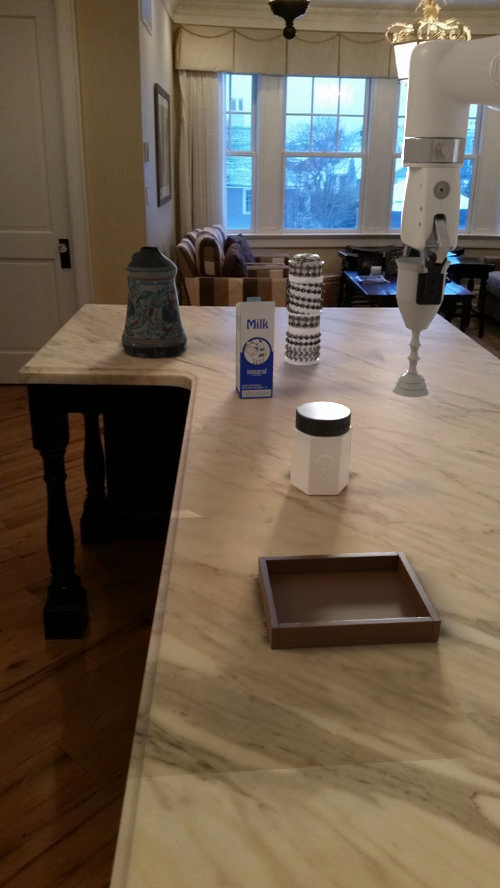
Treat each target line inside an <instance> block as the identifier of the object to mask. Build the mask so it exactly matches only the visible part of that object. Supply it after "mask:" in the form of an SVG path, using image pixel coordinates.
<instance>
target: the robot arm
mask: <svg viewBox="0 0 500 888" xmlns="http://www.w3.org/2000/svg"><path fill="white" fill-rule="evenodd" d="M408 67H409V69H408V79H407V80H408V81H407V92H406V93H407V94H406V104H405V106H406V107H405V117H404V118H405V119H404V130H403V142H402V154H401V166H400V167H401V168H407V172H406V177H405V184H404V192H403V200H402V208H401V218H400V240H401V242H402V243H403V244H402V249H403V252H402V256H401V258H405V257H421V272H422V273H418V282H417V292H416V303H417V304H418V305H439V304H440V303H441V299H442V290H443V281H444V273H445V269H446V267H445V263H446V261H447V260H448V254H449V252H453V251H454V250H455V249H456V248H457V247H458V238H459V226H460V211H461V192H462V191H461V189H462V187H461V184H462V183H461V169H462V168H464V162H465V154H466V144H467V136H468V127H469V117H470V110H471V105H477V106H479V105H480V106H487V107H488V108H489V109H491V110H494V111H497V112H500V34H496V35H493V36H488V37H482V38H475V39H469V40H463V39H455V38H454V39H453V38H452V39H450V38H448V39H447V38H442V39H431V40H426V41H425V40H424V41H423V42H420V43H417V44H416V45H415V47H414V48H413V49H412V51H411V54H410V59H409V66H408ZM428 258H429V261H428ZM441 304H442V303H441Z"/></svg>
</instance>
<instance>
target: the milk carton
mask: <svg viewBox="0 0 500 888" xmlns="http://www.w3.org/2000/svg"><path fill="white" fill-rule="evenodd" d="M275 314H276V301H275V300H274V301H262V299H261V297H260V296H249V297H246V301H239V302H236V304H235V391H236V392H237V395H238V397H239V399H240V400H243V399H244V400H245V399H246V400H247V399H269V398H270V399H271V398H274V397H273V395H274V394H273V392H274V358H275V357H274V356H275V354H274V353H275V322H276V321H275V319H276V318H275V317H276V316H275Z"/></svg>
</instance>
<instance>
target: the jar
mask: <svg viewBox="0 0 500 888" xmlns="http://www.w3.org/2000/svg"><path fill="white" fill-rule="evenodd" d="M351 421H352V411H351V409H350V408H349V407H347V406H344V405H343V404H339V403H336V402H329V401H311V402H306V403H303V404H300V405H299V406H297V407H296V409H295V423H294V426H293V427H292V428H291V429H292V430H291V455H290V476H289V478H290V479H289V480H290V482H289V483H290V485H292V486H293V487H295V488H296V489H298V490H299V491H301V492H302V493H303V494H305V495H307V496H338V495H339V494H340V493H341V492H342V491H343V490H344V489H345V487H347V485H348V484H349V482H350V481H349V479H350V467H351V454H352V442H353V441H352V440H353V428H354V427H353V426H351Z"/></svg>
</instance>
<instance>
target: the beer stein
mask: <svg viewBox="0 0 500 888" xmlns="http://www.w3.org/2000/svg"><path fill="white" fill-rule="evenodd" d="M125 271H126V275H127V277H126V279H127V286H128V287H127V288H128V294H127V303H126V315H125V323H124V328H123V332H122V334H121V343H122V348H123V351H124V354H126V355H128V356H131V357H133V356H135V357H134V358H139V357H142V358H141V359H165V358H164V357H167V358H172V357H171V356H173V357H177V356H181V355H182V354H183V353H185V352H186V351H187V343H188V339H189V337H188V334H187V332H186V329H185V326H184V323H183V320H182V315H181V314H182V313H181V310H180V303H179V298H178V291H177V286H176V276H177V274H178V267H177V265H176V264H175V262H173V261H172V260H171V259H170V258H168V257H167V256H166V255H164V254H163V252H161V251H160V247H158V246H141V247H140V249H139V251H136V252H134V253H132V255H131V261H130V262H129V263H128V265H127V266H126V268H125ZM176 355H177V356H176Z"/></svg>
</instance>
